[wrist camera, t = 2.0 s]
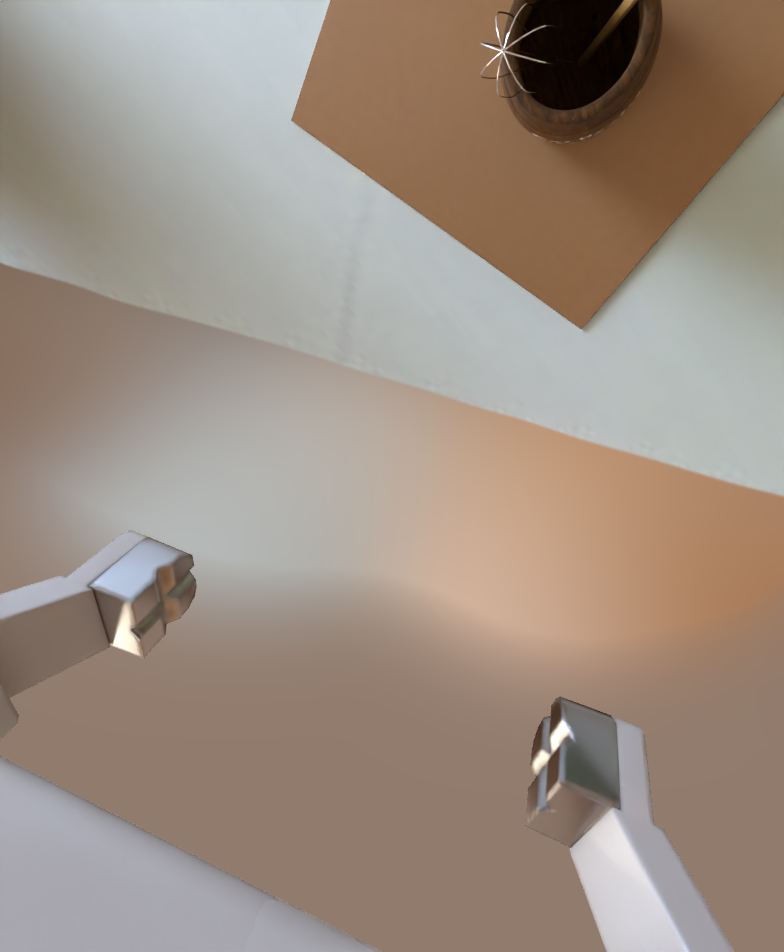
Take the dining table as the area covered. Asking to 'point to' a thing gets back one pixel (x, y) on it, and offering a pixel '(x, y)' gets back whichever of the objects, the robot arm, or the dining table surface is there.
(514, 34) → the utensil holder
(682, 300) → the dining table surface
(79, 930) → the robot arm
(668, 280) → the dining table surface
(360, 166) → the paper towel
